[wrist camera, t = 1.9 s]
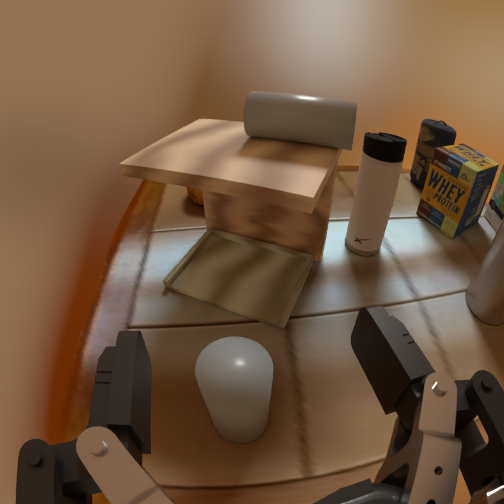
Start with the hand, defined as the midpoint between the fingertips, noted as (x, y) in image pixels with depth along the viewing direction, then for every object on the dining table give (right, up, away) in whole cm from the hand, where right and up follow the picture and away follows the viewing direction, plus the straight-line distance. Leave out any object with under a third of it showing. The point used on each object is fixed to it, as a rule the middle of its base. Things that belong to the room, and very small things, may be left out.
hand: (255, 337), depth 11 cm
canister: (+45, +21, +59) cm, 77 cm away
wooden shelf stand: (-2, 0, +35) cm, 35 cm away
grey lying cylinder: (0, +19, +23) cm, 30 cm away
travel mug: (+19, +4, +40) cm, 44 cm away
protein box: (+44, +10, +47) cm, 65 cm away
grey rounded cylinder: (-1, -14, +18) cm, 23 cm away
